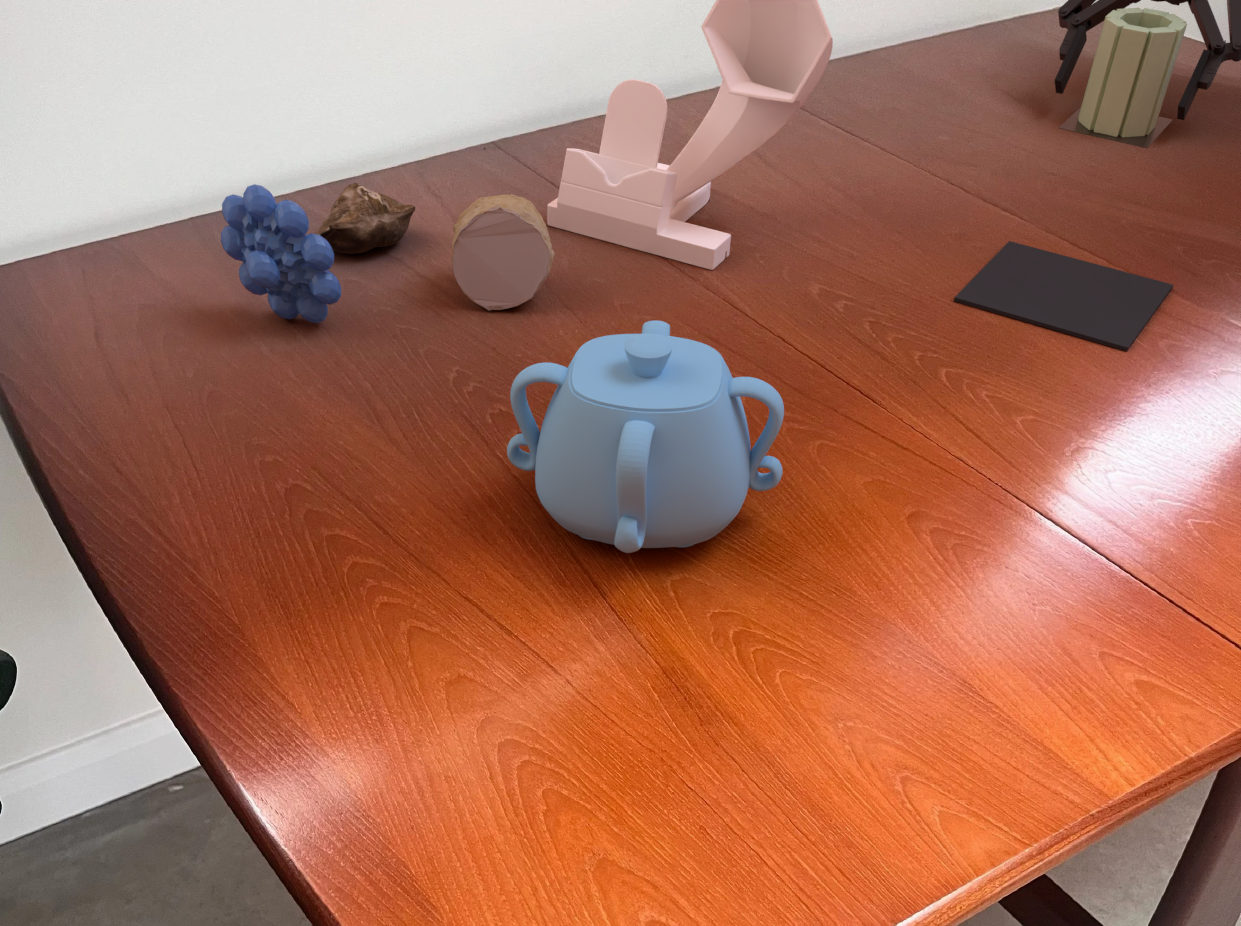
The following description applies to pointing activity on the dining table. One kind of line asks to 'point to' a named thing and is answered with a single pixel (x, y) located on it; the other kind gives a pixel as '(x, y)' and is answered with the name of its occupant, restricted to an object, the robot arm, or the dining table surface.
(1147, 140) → the stand
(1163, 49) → the fluted octagonal tube
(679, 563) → the dining table surface
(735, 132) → the phone horn amplifier
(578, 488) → the decorative pot
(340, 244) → the fossilized seashell
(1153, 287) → the mat
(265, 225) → the grapes
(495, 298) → the bark-rimmed wood disc
